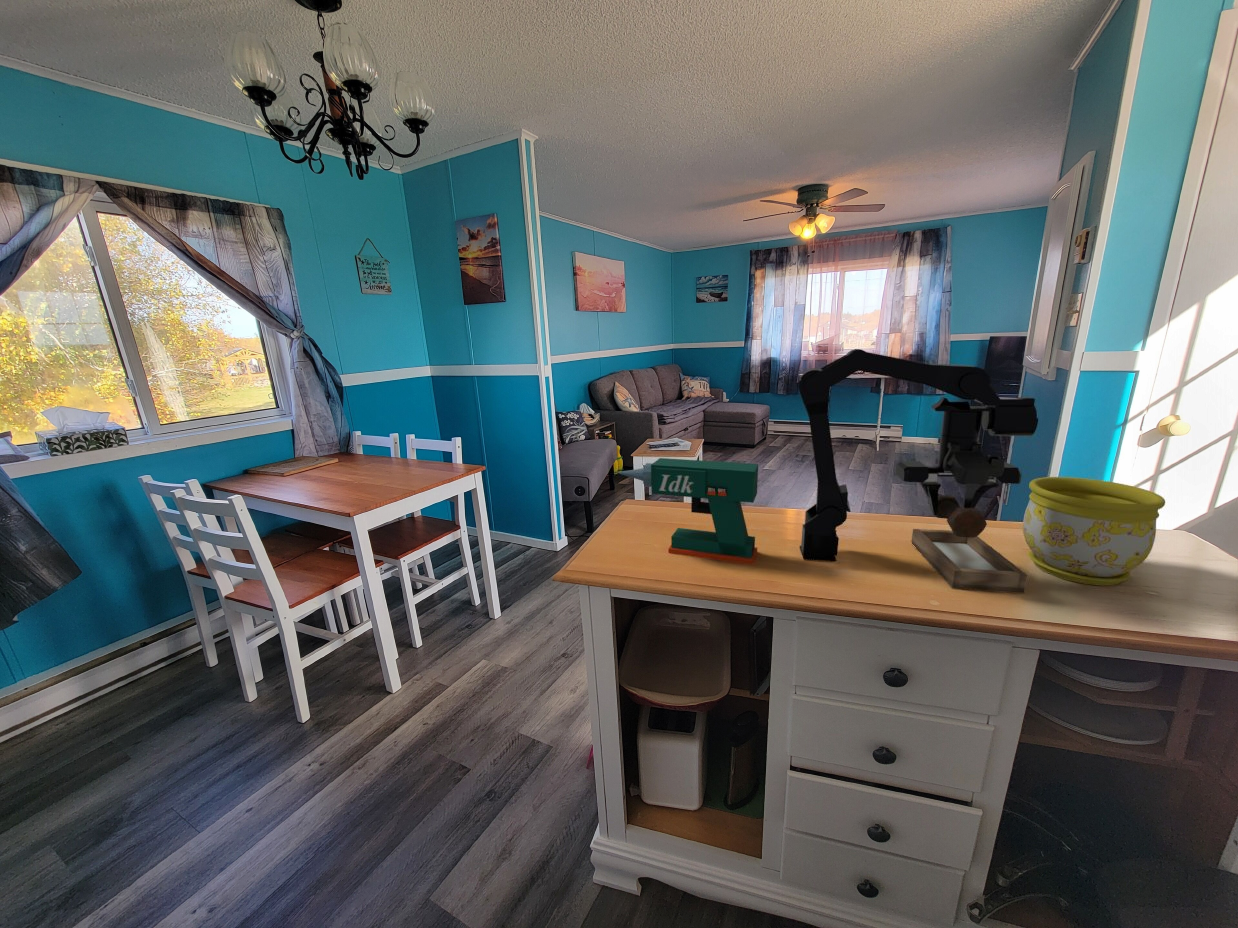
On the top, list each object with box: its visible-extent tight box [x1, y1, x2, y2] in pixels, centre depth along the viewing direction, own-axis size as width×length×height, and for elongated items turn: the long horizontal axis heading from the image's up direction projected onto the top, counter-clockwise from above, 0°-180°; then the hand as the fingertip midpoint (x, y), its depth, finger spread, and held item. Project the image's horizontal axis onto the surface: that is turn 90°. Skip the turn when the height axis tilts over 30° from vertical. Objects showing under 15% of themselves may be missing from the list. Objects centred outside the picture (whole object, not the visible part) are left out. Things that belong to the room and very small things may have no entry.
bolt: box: [927, 493, 988, 538], centre depth 91 cm, size 6×5×15 cm
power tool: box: [615, 457, 759, 566], centre depth 105 cm, size 32×7×20 cm, turn 68°
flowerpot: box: [1022, 476, 1166, 586], centre depth 90 cm, size 18×18×16 cm
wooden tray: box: [910, 528, 1028, 594], centre depth 95 cm, size 11×20×4 cm, turn 168°
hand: (950, 515), depth 91 cm, fingers closed on bolt, 5 cm apart
